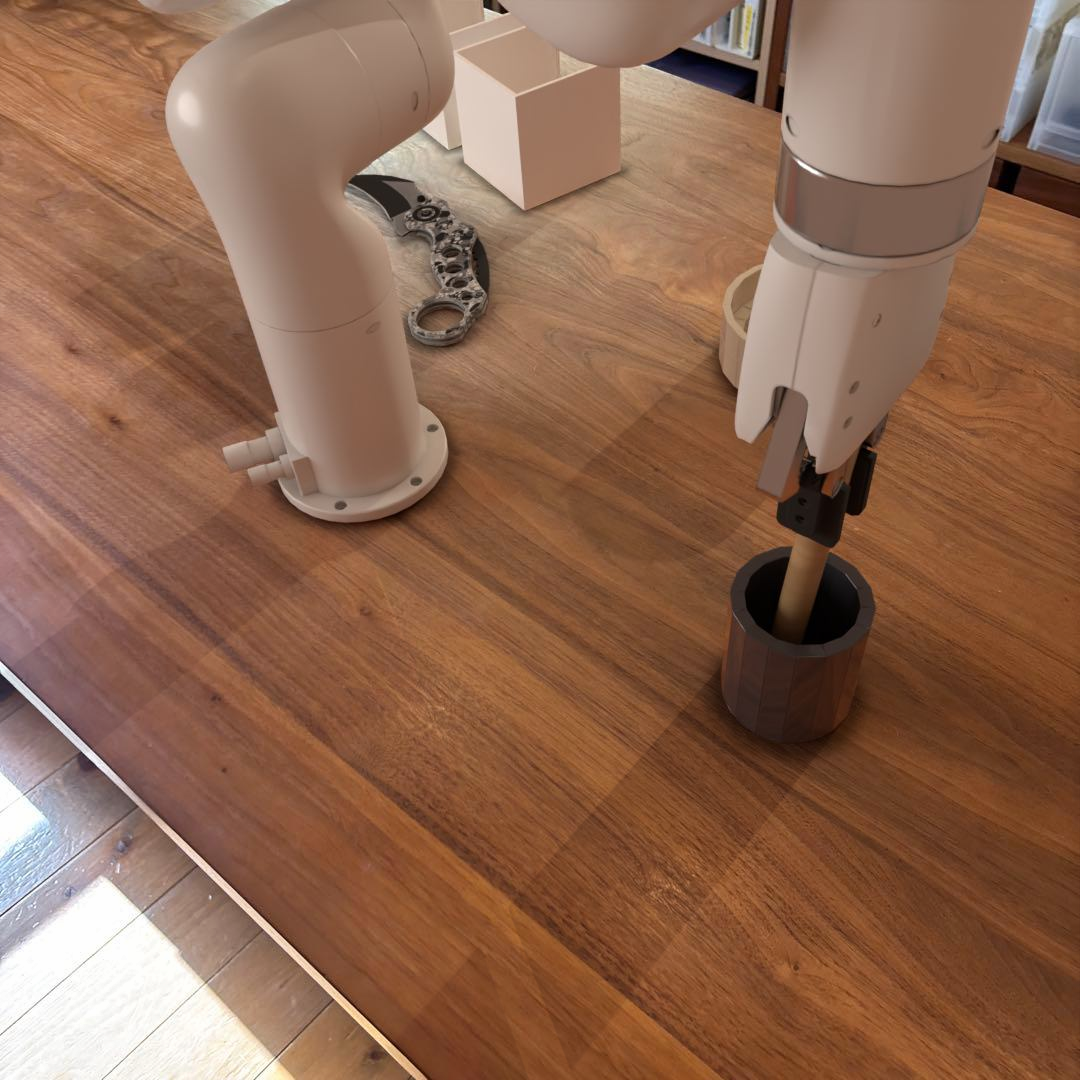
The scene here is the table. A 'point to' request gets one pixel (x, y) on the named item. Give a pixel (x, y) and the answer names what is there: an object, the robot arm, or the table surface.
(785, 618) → the stirring stick
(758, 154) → the table surface
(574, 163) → the open boxes
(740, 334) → the bowl
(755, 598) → the utensil pot
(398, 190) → the knife
